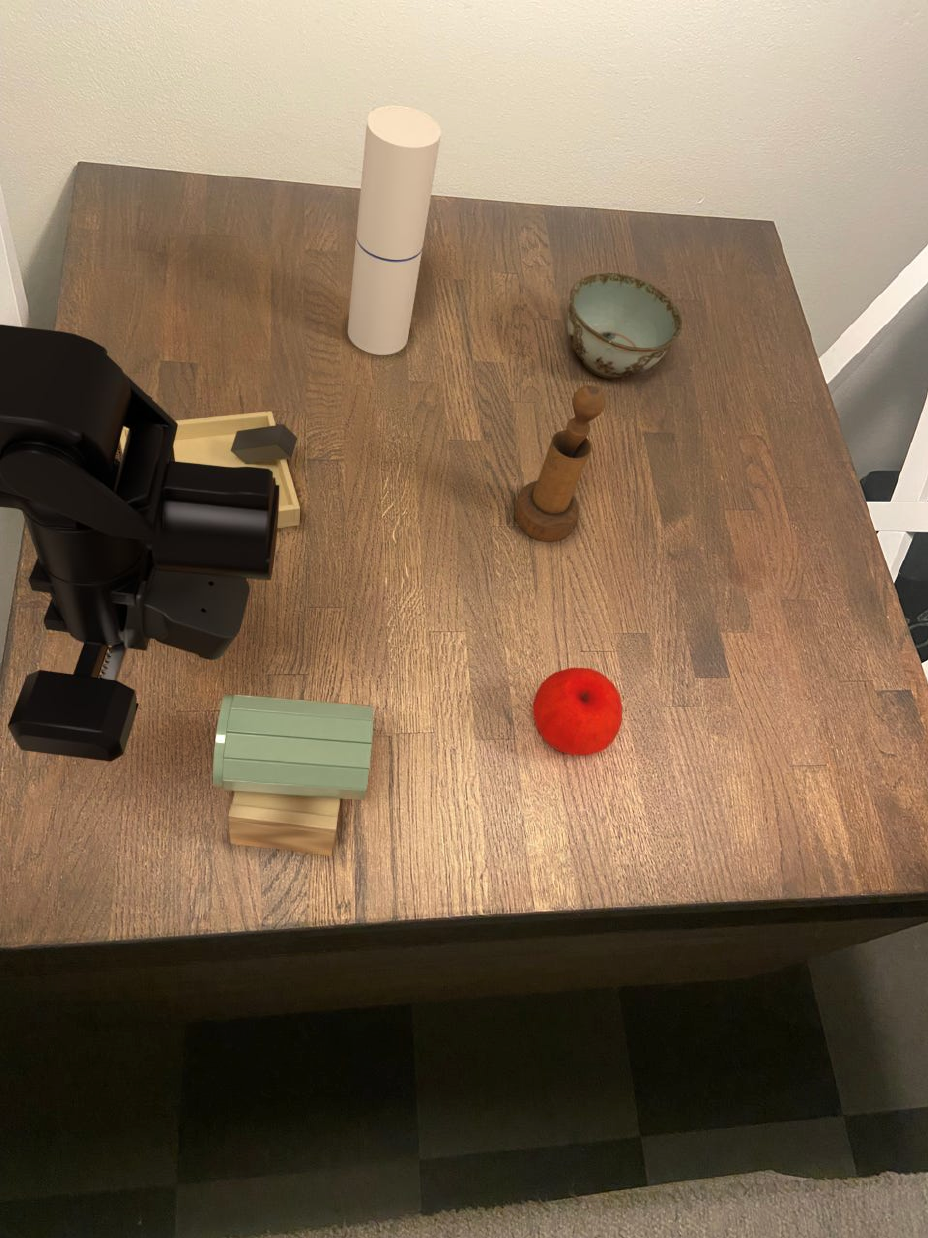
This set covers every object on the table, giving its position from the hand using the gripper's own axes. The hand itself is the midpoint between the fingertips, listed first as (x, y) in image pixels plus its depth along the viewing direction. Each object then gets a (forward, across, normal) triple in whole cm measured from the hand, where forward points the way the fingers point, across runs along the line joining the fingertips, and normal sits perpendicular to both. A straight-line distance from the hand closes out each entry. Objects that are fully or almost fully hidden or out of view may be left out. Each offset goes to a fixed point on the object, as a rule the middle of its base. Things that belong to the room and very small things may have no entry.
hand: (125, 679), depth 64 cm
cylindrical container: (+13, +57, -13) cm, 60 cm away
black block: (+10, +33, -4) cm, 35 cm away
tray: (+13, +30, +1) cm, 32 cm away
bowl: (+13, +60, -41) cm, 73 cm away
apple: (+13, +8, -36) cm, 39 cm away
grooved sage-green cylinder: (+4, -1, -12) cm, 13 cm away
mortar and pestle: (+13, +33, -33) cm, 48 cm away
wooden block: (+13, -2, -12) cm, 18 cm away
